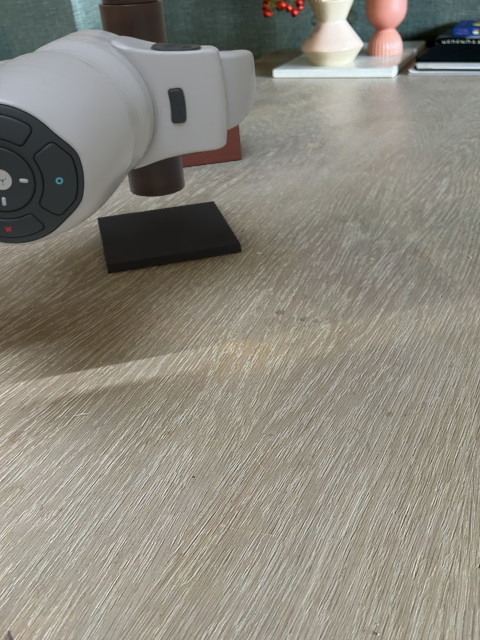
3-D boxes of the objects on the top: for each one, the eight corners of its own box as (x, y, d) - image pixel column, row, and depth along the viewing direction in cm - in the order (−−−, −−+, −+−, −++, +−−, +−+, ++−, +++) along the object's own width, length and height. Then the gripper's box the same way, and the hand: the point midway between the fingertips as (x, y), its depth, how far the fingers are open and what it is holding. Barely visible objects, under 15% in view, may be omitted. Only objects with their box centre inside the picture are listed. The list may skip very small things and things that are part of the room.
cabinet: (133, 173, 82) (121, 103, 77) (123, 147, 92) (112, 84, 87) (241, 159, 85) (236, 91, 80) (220, 135, 95) (214, 73, 90)
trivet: (108, 273, 58) (106, 264, 58) (98, 225, 68) (97, 217, 68) (241, 251, 61) (240, 243, 60) (214, 208, 71) (213, 200, 70)
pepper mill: (133, 200, 59) (88, -66, 48) (127, 183, 63) (84, -66, 52) (189, 192, 60) (157, -70, 49) (180, 176, 64) (149, -69, 53)
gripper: (-38, 156, 48) (33, 110, 59) (246, 148, 46) (263, 103, 58) (-67, 59, 44) (15, 31, 56) (239, 47, 43) (259, 21, 54)
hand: (143, 67), depth 57 cm, fingers closed on pepper mill, 5 cm apart
